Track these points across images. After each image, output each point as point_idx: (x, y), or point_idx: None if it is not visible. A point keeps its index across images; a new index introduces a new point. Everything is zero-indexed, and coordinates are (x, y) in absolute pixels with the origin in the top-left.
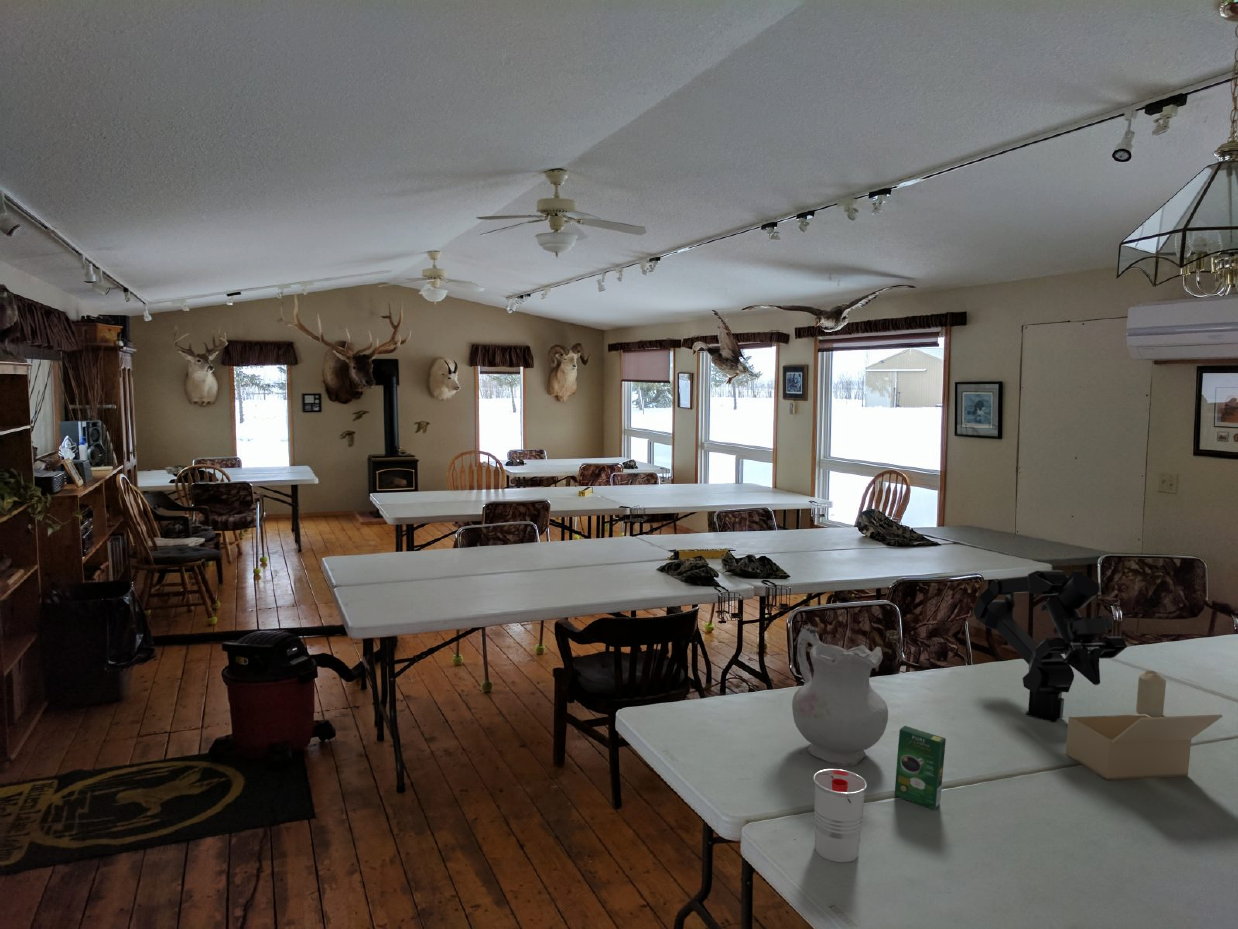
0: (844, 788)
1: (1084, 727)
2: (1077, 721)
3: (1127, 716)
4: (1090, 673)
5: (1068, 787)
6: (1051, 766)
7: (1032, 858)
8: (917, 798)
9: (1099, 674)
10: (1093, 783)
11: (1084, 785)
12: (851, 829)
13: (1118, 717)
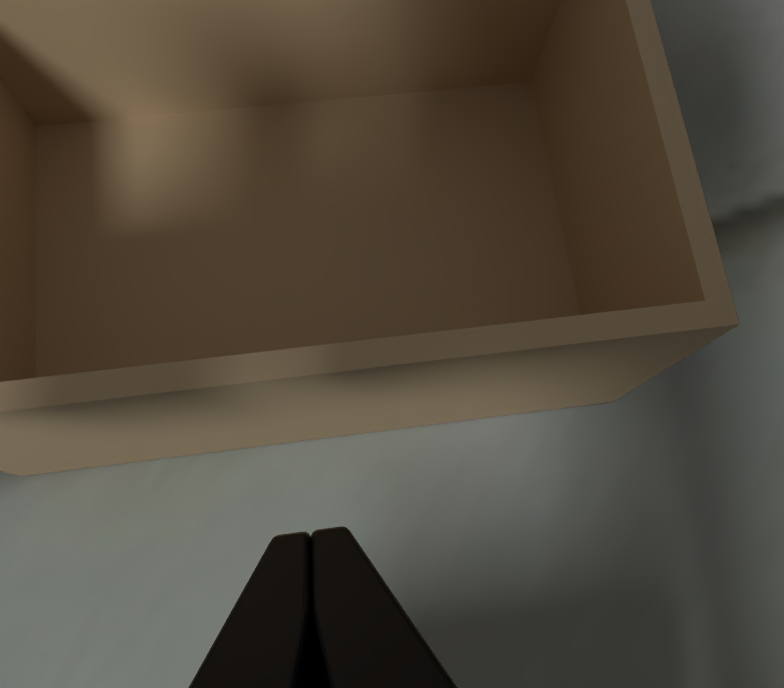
0: None
1: (681, 125)
2: (700, 221)
3: (94, 373)
4: (434, 670)
5: (779, 12)
6: (776, 232)
7: None
8: None
9: (215, 651)
10: None
11: (686, 30)
12: None
13: (202, 362)
